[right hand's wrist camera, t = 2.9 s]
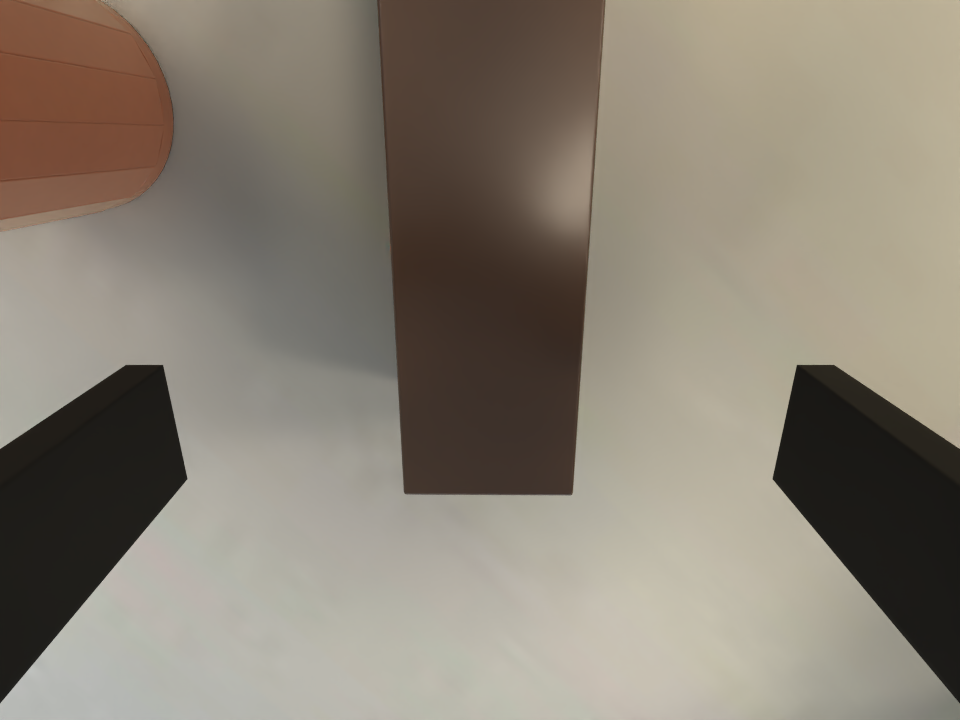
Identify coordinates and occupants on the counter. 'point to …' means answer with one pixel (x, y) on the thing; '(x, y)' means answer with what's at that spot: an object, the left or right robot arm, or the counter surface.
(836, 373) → the right robot arm
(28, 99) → the terracotta cup
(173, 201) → the counter surface
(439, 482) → the walnut bar
